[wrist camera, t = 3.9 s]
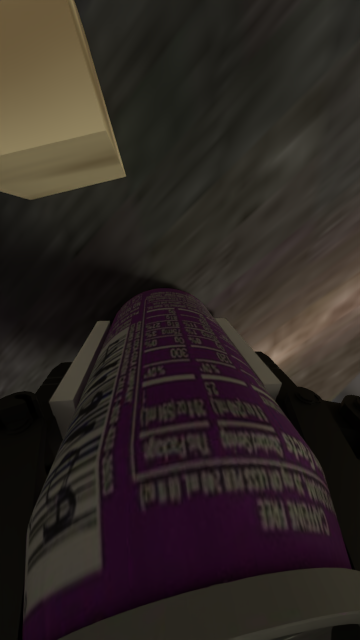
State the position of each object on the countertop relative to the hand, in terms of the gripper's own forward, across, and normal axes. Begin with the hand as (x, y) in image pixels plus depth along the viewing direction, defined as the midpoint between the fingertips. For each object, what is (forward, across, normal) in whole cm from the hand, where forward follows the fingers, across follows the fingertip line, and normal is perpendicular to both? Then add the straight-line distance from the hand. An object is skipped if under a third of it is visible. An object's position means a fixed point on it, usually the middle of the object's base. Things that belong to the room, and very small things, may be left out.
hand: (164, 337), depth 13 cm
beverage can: (+1, 0, 0) cm, 1 cm away
